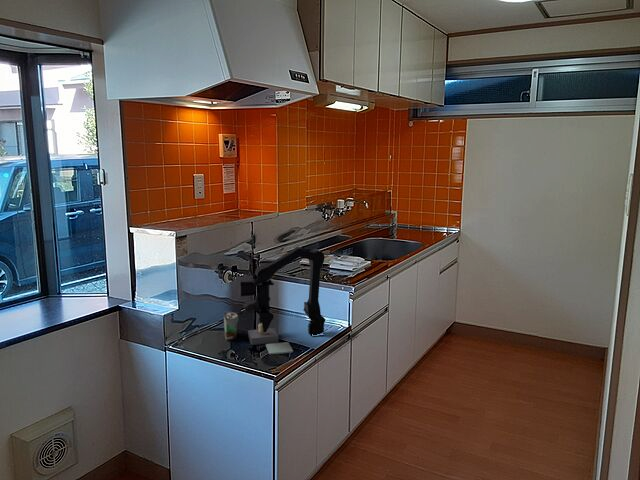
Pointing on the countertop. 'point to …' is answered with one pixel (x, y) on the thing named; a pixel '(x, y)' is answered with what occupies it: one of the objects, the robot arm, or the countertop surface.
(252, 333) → the grey square frame
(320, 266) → the robot arm
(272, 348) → the mat
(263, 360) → the countertop surface
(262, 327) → the plug
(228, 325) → the food container
